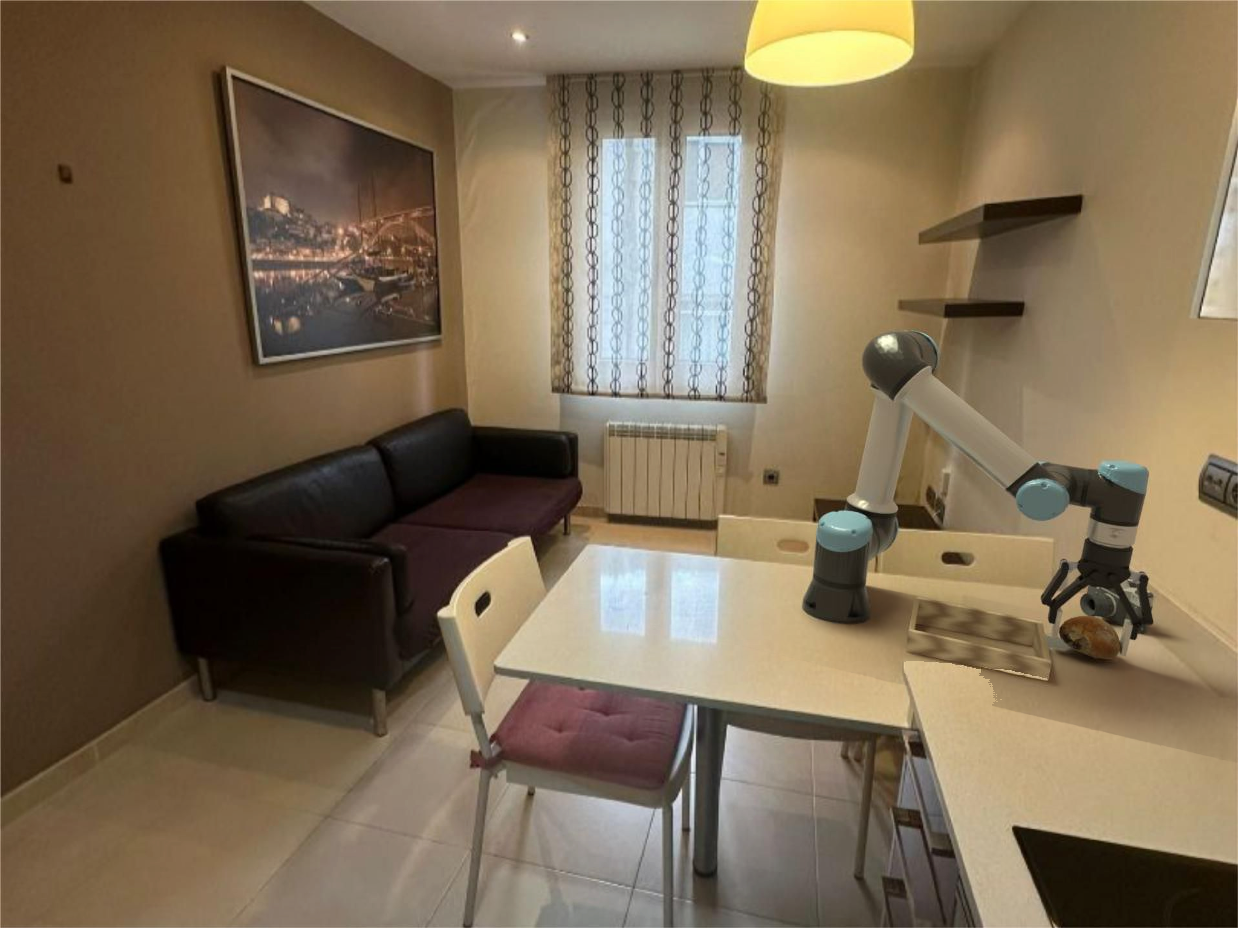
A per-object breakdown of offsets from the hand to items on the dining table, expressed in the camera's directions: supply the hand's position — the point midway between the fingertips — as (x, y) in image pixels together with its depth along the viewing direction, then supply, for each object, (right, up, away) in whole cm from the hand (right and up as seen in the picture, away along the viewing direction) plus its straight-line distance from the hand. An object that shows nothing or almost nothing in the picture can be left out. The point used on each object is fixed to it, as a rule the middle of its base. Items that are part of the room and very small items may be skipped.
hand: (1087, 645), depth 128 cm
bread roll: (-2, -1, +1) cm, 2 cm away
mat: (0, -3, +1) cm, 3 cm away
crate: (-21, -2, +3) cm, 22 cm away
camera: (+18, +1, +19) cm, 27 cm away
